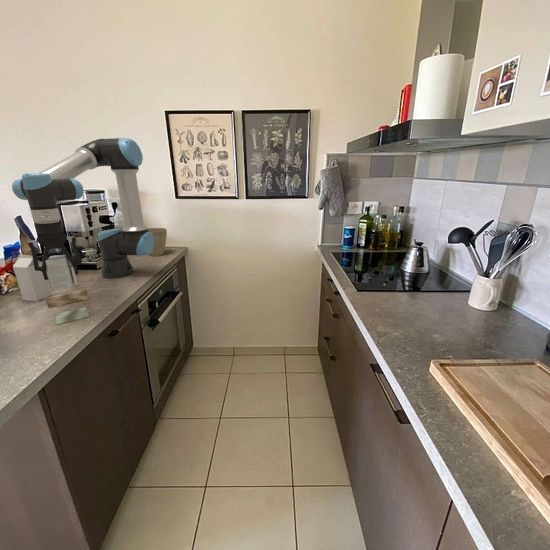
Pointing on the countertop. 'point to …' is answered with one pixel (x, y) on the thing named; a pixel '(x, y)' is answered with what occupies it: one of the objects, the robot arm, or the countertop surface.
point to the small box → (60, 272)
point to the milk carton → (31, 279)
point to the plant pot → (158, 240)
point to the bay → (66, 299)
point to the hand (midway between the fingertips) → (64, 285)
